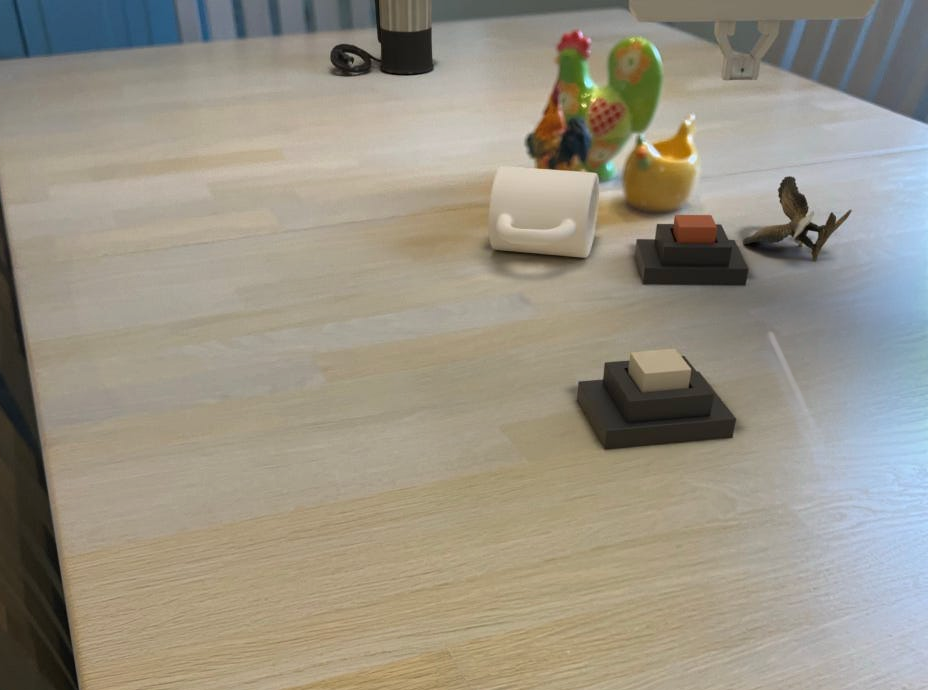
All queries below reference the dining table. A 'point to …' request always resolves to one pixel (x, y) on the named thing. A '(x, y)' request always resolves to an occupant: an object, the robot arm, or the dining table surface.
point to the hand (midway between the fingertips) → (739, 79)
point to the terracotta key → (694, 229)
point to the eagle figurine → (797, 221)
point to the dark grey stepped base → (689, 260)
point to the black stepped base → (652, 411)
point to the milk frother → (395, 39)
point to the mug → (543, 211)
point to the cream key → (659, 370)
